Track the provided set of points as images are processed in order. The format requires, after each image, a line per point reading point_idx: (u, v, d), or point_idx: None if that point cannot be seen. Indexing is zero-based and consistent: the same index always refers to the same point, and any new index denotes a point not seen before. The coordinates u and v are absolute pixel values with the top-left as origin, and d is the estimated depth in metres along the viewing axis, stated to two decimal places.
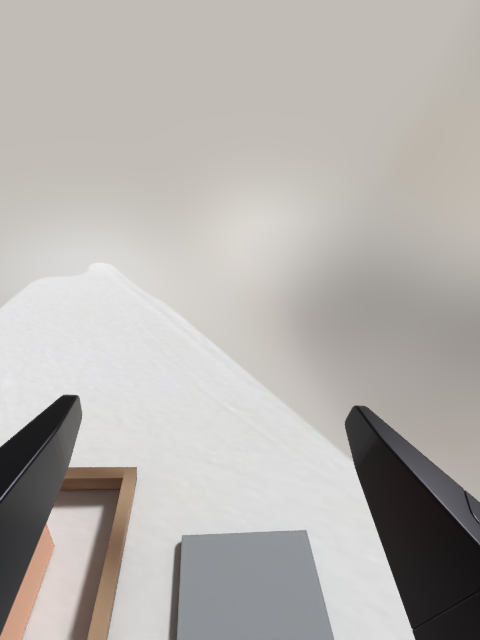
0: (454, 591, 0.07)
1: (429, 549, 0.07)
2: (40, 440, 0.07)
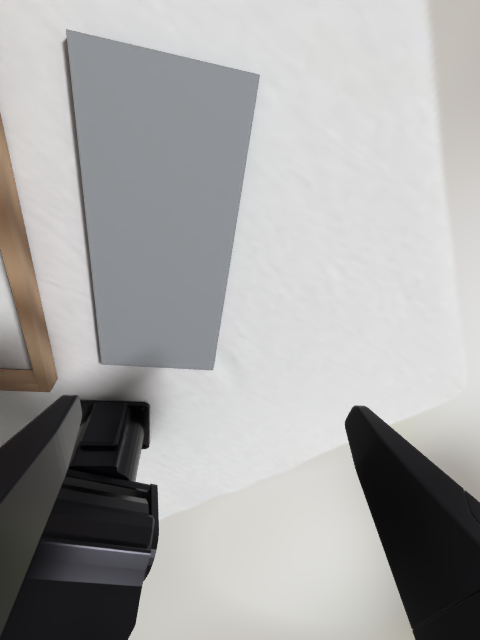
0: (454, 591, 0.07)
1: (429, 549, 0.07)
2: (40, 440, 0.07)
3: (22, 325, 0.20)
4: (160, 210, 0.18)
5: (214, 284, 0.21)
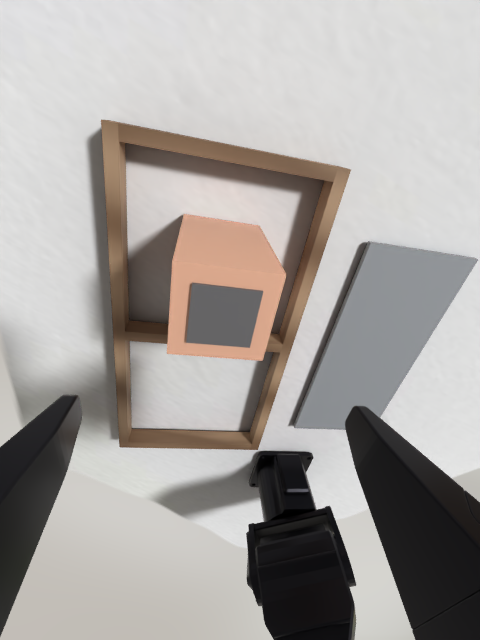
0: (454, 591, 0.07)
1: (429, 549, 0.07)
2: (40, 440, 0.07)
3: (264, 407, 0.28)
4: (382, 333, 0.26)
5: (397, 375, 0.29)
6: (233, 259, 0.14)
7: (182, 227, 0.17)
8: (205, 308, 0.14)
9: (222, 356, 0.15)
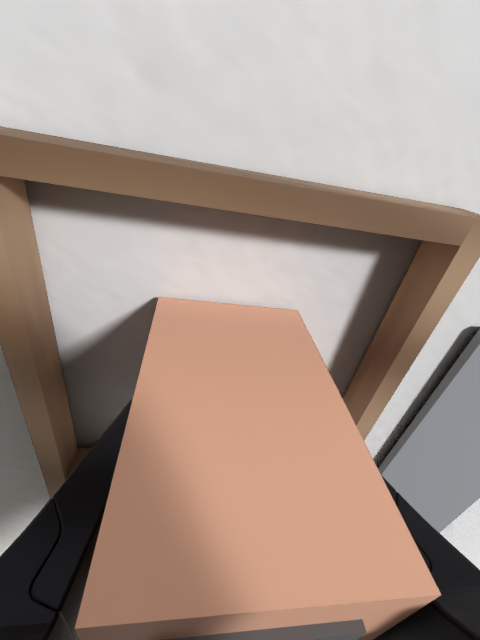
0: None
1: None
2: None
3: None
4: (473, 444, 0.17)
5: None
6: (275, 521, 0.05)
7: (148, 355, 0.08)
8: None
9: None
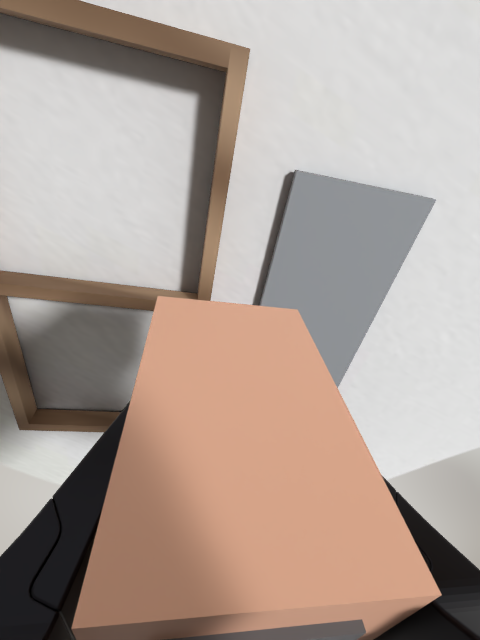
0: None
1: None
2: None
3: None
4: (324, 295, 0.21)
5: (348, 348, 0.24)
6: (274, 521, 0.05)
7: (147, 353, 0.08)
8: None
9: None
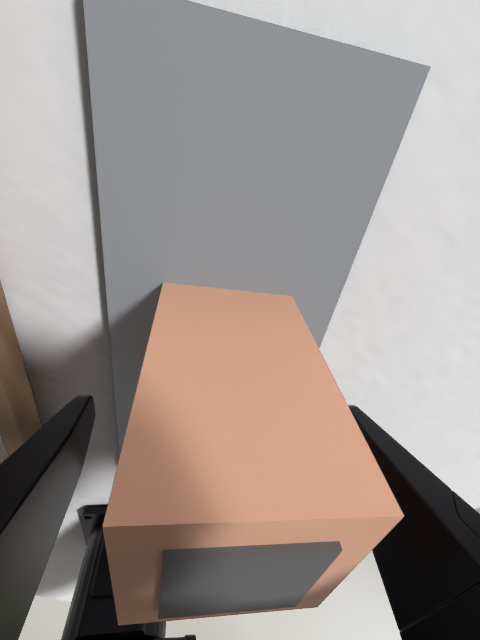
0: (440, 592, 0.07)
1: (415, 550, 0.07)
2: (57, 440, 0.07)
3: (7, 445, 0.13)
4: (226, 284, 0.11)
5: None
6: (266, 460, 0.06)
7: (154, 330, 0.08)
8: (200, 574, 0.06)
9: (236, 613, 0.07)
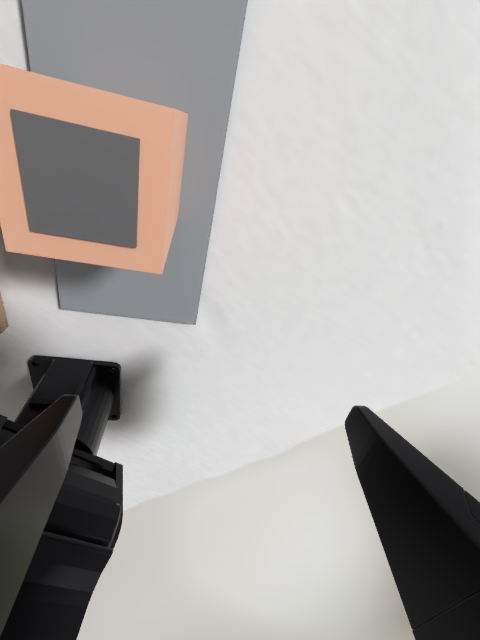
0: (454, 591, 0.07)
1: (429, 549, 0.07)
2: (40, 440, 0.07)
3: None
4: (131, 95, 0.14)
5: (199, 208, 0.17)
6: None
7: None
8: (50, 167, 0.09)
9: (97, 262, 0.10)
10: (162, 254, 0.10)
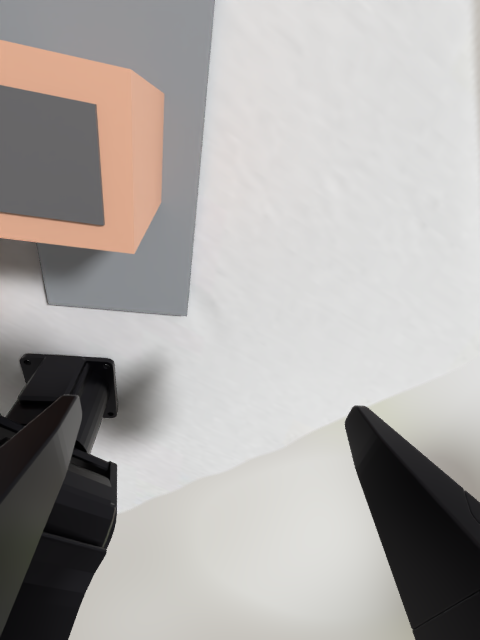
0: (454, 591, 0.07)
1: (429, 549, 0.07)
2: (40, 440, 0.07)
3: None
4: None
5: (182, 194, 0.17)
6: None
7: None
8: (4, 139, 0.08)
9: (65, 243, 0.10)
10: (132, 232, 0.10)
